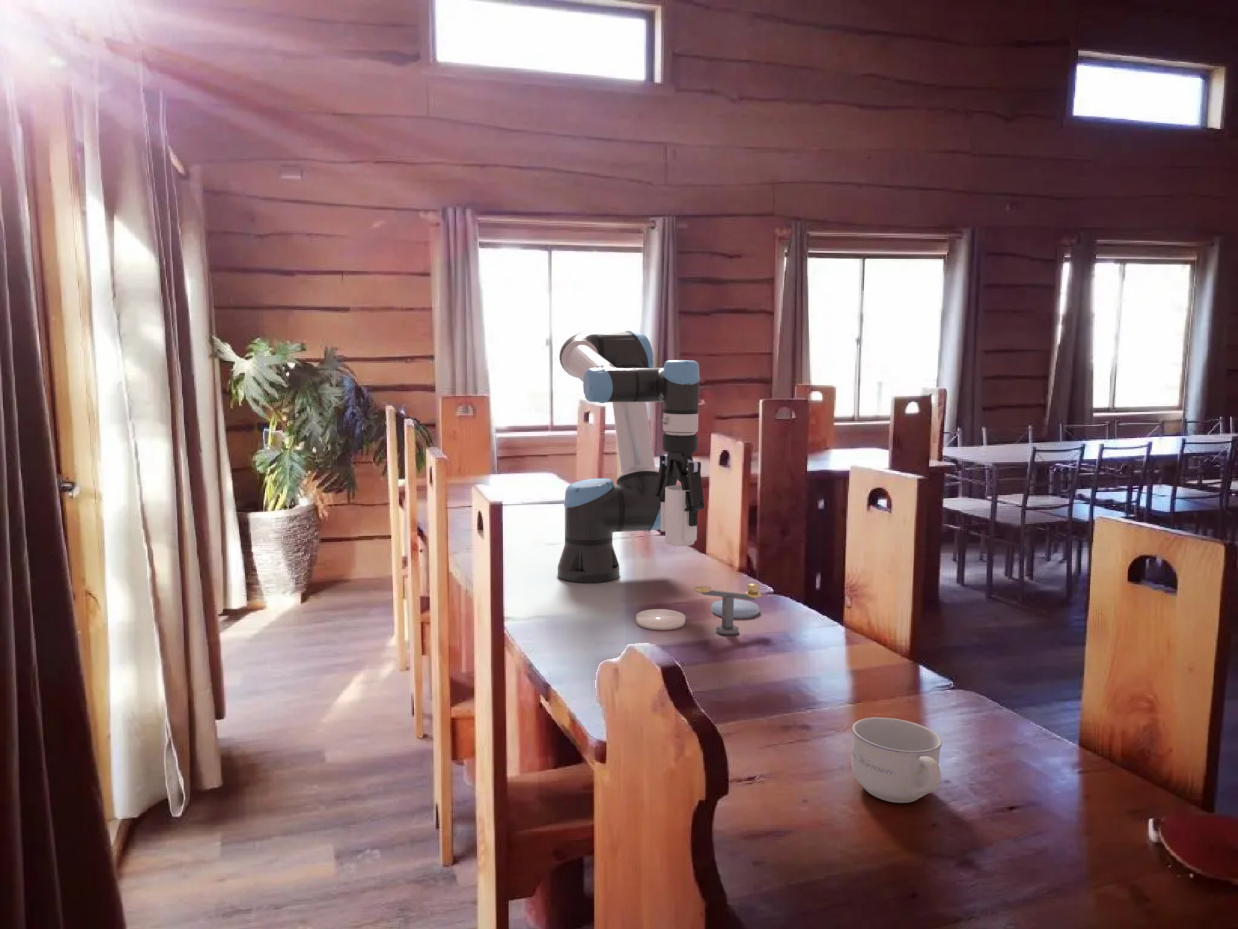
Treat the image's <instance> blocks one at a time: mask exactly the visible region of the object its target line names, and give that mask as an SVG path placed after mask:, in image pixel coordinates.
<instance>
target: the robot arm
mask: <svg viewBox="0 0 1238 929" xmlns="http://www.w3.org/2000/svg"><path fill="white" fill-rule="evenodd" d="M558 355H559V362H560V363H559V364H560V365H561V368H562V369H563V370H564V372H566V373H567V374H568V375H569V376H571V377H572V378H573V377H574V378H576V379H577V378H578V379H579V380H580V381H581V382H582V383H583V385H582V387H583V389H582V390H583V394H584V398H585V400H586V401H588V402H590V403H599V404H605V403H612V408H613V410H612V411H613V416H614V417H613V418H614V425H615V432H616V441H617V447H618V456H619V463H620V464H619V465H620V472H621V473H620V474H619V476H617V479H616V484H615V483H614V480H612V479H611V478H606V477H605V478H604V477H602V478H598V477H597V478H588V479H583V480H578V481H575V482H573V483H571V484H569V485H568V486H567V487H566V489H565V494H564V503H563V506H564V545H563V549H562V553H561V554H560V559H559V560H558V561H559V562H558V563H557V576H558V577H559V579H562V580H564V581H569V582H574V583H585V584H586V583H591V584H592V583H602V582H609V581H613V580H615V579H617V578H619V577H620V563H619V560H618V557H617V554H616V550H615V548H614V545H613V535H614V533H621V532H623V533H624V532H646V531H647V532H651V531H657V530H660V532H663V533H664V532H665V487H667V486H672V485H677V482H679V483H680V485H681V486H682V490H689V491H686V492H685V503H686V507H687V508H685V509H684V541H694V542H695V541H697V540H698V538H697V537H698V536H697V535H698V518H699V516H698V514H699V511H700V510H704V509H705V500H704V493H703V491H704V490H703V483H702V475H701V474H702V473H701V472H702V471H701V468H702V463H701V461H694V459H693V453H696V452H697V451H698V449H699V448H698V444H699V436H698V435H697V432H698V431H699V400H700V381H701V375H700V364H699V363H698V361H697V360H690V359H689V360H686V359H685V360H684V359H680V360H679V359H671V360H666V361H664V365H663V367H662V366H658V367H654V353H653V347H652V345H651V342H650V340H649V338H648V336H647V335H645V334H644V333H642V332H639V331H638V332H635V331H630V330H626V331H600V330H599V331H597V330H596V331H595V330H587V331H582V332H579V333H576V334H575V335H572V336H570V337H569V338H568V339H567V340H566V341H565V342H564V343H563V345H562V346H561V348H560V351H559V354H558ZM647 403H663V404H662V413H663V415H662V416H663V417H662V419H661V422H662V431H663V432H664V433H663V434H662V444H661V445H662V447H661V449H662V451H664V452H666V453H667V454H660V455H659V467H658V470H657V468H656V464H655V457H654V449H653V442H652V436H651V435H652V434H651V429H650V422H649V414H648V408H647Z"/></svg>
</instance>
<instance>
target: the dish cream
mask: <svg viewBox="0 0 1238 929" xmlns="http://www.w3.org/2000/svg"><path fill="white" fill-rule="evenodd" d="M635 623H636V624H637V625H638V626H640V627H642V628H645V629H649V630H655V631H656V630H657V631H658V630H659V631H662V630H663V631H665V630H674V629H676V630H677V629H680V628H682V627H683V626H685V625H686V615H685V614H684V613H682V612H680V611H677V610H675V609H674V610H672V609H665V608H655V609H654V608H653V609H652V608H651V609H646V610H641V611H639V612H638V613H637V614H636V616H635Z"/></svg>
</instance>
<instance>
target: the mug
mask: <svg viewBox="0 0 1238 929" xmlns="http://www.w3.org/2000/svg"><path fill="white" fill-rule="evenodd" d="M686 491H689V490H682V486H681V484H680V485H679V484H678V485H677V484H676V485H672V486H667V487H665V531H664V532H665V534H664V535H665V538H664V539H665V540H664V541H665V544H667V545H670V546H676V547H687V546H693V545H694V544H695V541H684V509H685V508H687V507H686V503H685V492H686Z"/></svg>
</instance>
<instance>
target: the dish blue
mask: <svg viewBox="0 0 1238 929" xmlns="http://www.w3.org/2000/svg"><path fill="white" fill-rule="evenodd" d="M711 613H713V615H716V616H719V617H721V618H722V599H720V600H716V601H714V602H712V604H711ZM759 614H760V605H758V603H755V602H753V601H751V600H747V599H738V598H734V610H733V619H750V618H755V617H757V616H758V615H759Z"/></svg>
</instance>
